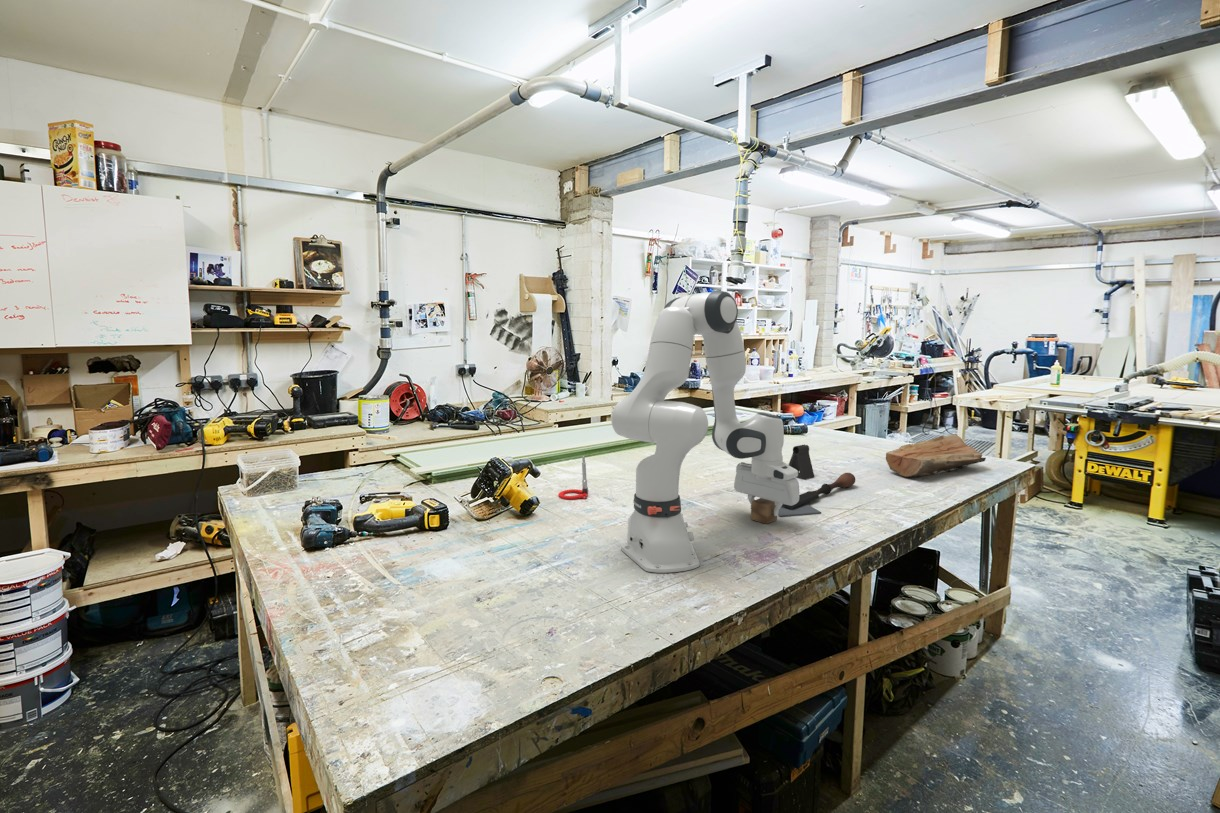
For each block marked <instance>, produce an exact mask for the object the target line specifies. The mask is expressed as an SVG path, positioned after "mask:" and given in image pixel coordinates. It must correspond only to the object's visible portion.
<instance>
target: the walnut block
mask: <svg viewBox="0 0 1220 813" xmlns="http://www.w3.org/2000/svg"><path fill="white" fill-rule="evenodd" d="M775 507H776V505H775V502H774V501H770V500H767V499H763V498H759V497H758V498H757V499H755V500H754V501H752V504H750V520H752V521H757V522H759V523H763V524H766V525H768V524H770V523H773V522H775V521H777V520H778V516H773V515H771V509H774V508H775Z"/></svg>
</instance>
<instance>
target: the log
mask: <svg viewBox="0 0 1220 813" xmlns="http://www.w3.org/2000/svg"><path fill="white" fill-rule="evenodd" d="M885 460H886V463H887V465H888V467H889V470H891V471H893V472H895V473H897V474H898V475H900V476H902V477H904V478H916V477H922V476H926V475H927V476H928V475H937V474H941V473H951V472H952V471H957V470H959V469H960V468H965V467H967V466H970V465H975V464H979V463H982V462H986V457H983V454H982V453H980V452H979V451H977V450H976V449H975V448H974V447H973V446H970V445H967V444H966V442H964V441H963V439H962V438H961V436H959V435H957V434H956V433H953V434H949V435H941V436H938V437H933V438H932V439H928V440H922V441H917V442H916V443H909V444H904V445H901V446H900V447H899V448H897V449H894V450H890V451H887V452H886V453H885Z"/></svg>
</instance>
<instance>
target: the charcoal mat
mask: <svg viewBox="0 0 1220 813" xmlns="http://www.w3.org/2000/svg"><path fill="white" fill-rule="evenodd" d="M821 514H822V511H821V510H818V508H815V507H813V506H811V505H810V504H809V503H806V504H804V505H802V506H799V507H797V508H795V509H789V508H787V507H784V506H781V508H780V509H779V513H778V516H777V517H780V518H784V517H785V518H786V517H796V516H797V517H798V516H808V515H809V516H811V515H821Z"/></svg>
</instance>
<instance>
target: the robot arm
mask: <svg viewBox="0 0 1220 813" xmlns="http://www.w3.org/2000/svg"><path fill="white" fill-rule="evenodd" d="M738 309H739V308H738V304H737V301H736V299H734V296H732V295H731V293H729V292H727V291H724V290H723V291H721V290H714V291H712V292H701V293H698V292H697V293H692V294H688V295H687V294H686V295H684V296H681V297H680V296H679V297H676V298H674V299H671V300H670V301H667V303H666V304H665V306H664V308H663V309H662V310H661V311H659V313H658V315H657V319H656V321H655V324H654V327H653V330H652V334H651V339H650V342H649V343H650V344H649V349H648V354H647V358H646V362H645V365H644V366H645V367H644V371H643V373H642V376H641V378H640V380H639V382H638V383H637V385H636V386H635V387H634V389H632V391H631V392H630V393H629V394H628V395H626V396H625V397H624V398H623V399H621V400H619V401H618V402H617V403H616V404H615V406H614V407H613V410H612V411H611V419H610V422H611V426H612V428H613V431H614V432H615V434H617V435H618V436H621V437H623V438H626V439H628V440H632V441H638V442H644V443H645V442H646V443H653V444H655V452H654V454H651V455H649V456H647V457H644V458H643V459H641V460H640V462H638V463H637V464H638V465H637V466H636V469H635V493H634V495H633V509H634V510H633V512H632V514H631V515H630V516H629V517H628V520H627V531H626V532H627V533H626V542H625V543H622V544H621V546H620V550H621V551H622V553H624V554H625V555H626V556H628V557H629V558H630V559H631V560H632V561H633V562H635V564H637V565H638V566H639V567H640V568H642V569H643V570H644V571H646V572H648V573H657V574H658V573H659V574H661V573H664V574H665V573H666V574H667V573H677V572H684V571H685V572H686V571H691V570H693V569H694V570H695V569H697V568H698V567H700V560H699V558H698V556H697V553H696V551H695V549H694V547H693V544H692V542H693V541H694V539H695V536H694V535H695V534H694V532H693V531H688V529H687V528H688V526H689V523H688V521H685V519H684V517H683V513H682V501H681V496H680V494H679V492H680V491H679V490H680V488H679V487H680V486H679V485H680V476H681V468H682V464H683V462H684V459H685V458H686V456H687V455H688V453H689V452H690V451H691V450H692V449H694V448H695V447H696V446H698V445H700V443H701V442H703V441H704V439H705V437H706V436H707V433H708V430H709V418H708V415H707V414H706V411H705V410H704V409H703V408H702V407H701V406H698V405H694V404H692V403H687V402H685V401H674V400H673V401H672V400H665V399H666V397H667V395H668V394H669V393H670V392H671V391H673V390H675V389H677V388H680V387H681V386H682V385H684V384H685V383H686V381H687V380H688V378H689V373H690V366H691V360H692V353H693V347H694V339H695V338H694V337H695V335H701V337H702V339H703V350H704V356H705V357H704V358H705V363H706V368H707V371H708V372H707V373H708V375H709V380H710V385H711V392H712V393H711V395H712V401H713V410H714V421H713V428H712V431H711V439H712V442H713V445H714V446H716V448H717V449H719V450H721V451H723V452H724V453H727V454H728V455H730V456H731V457H733V458H735V459H740V460H741V459H742V460H743V459H750V458H751V462H750V463H746V462H743V461H741V462H739V463H737V465H736V466H735V467H736V468H735V470H736V471H735V472H736V473H735V477H734V483H733V485H734V486H733V488H734V490H735V492H738V493H741V494H745V495H747V499H748V501H749V504H750V505H751V504H752V501H754V500H756V499H755V498H758V499H759V498H763V499H767V500H770V501H774V502H775V505H776V507H775V508H774V509H771V515H773V516H777V517H779V516H778V513H779V509H780V508H781V506H782V505H783V504H786V505H789V506H792V505H795V504H797V503H798V501H799V495H800V483H799V481H798V478H795V477H797V476H798V471H797V470H796V469H794V468H793V467H791V466H789V464H787V463H786V462H784V461H783V460H784V459H783V458H784V457H783V452H782V451H783V448H784V442H785V437H784V436H785V433H784V432H785V430H784V421H783V420H782V418H781V417H780V416H778V415H775V414H772V413H768V412H756V414H754V416H752V417H751V418H749V419H747V420H745V421H743V422H741V421H740V420H739V419H738V416H737V412H736V403H735V387H736V385H737V384H738V382H740V381H741V379H743V377H744V376H745V374H746V368H747V367H746V366H747V364H746V363H747V360H746V359H747V358H746V353H745V351H746V350H745V345H744V340H743V336H742V334H741V330H740V327H739V324H738V322H737V321H738V320H737V319H738V314H739V310H738Z"/></svg>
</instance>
